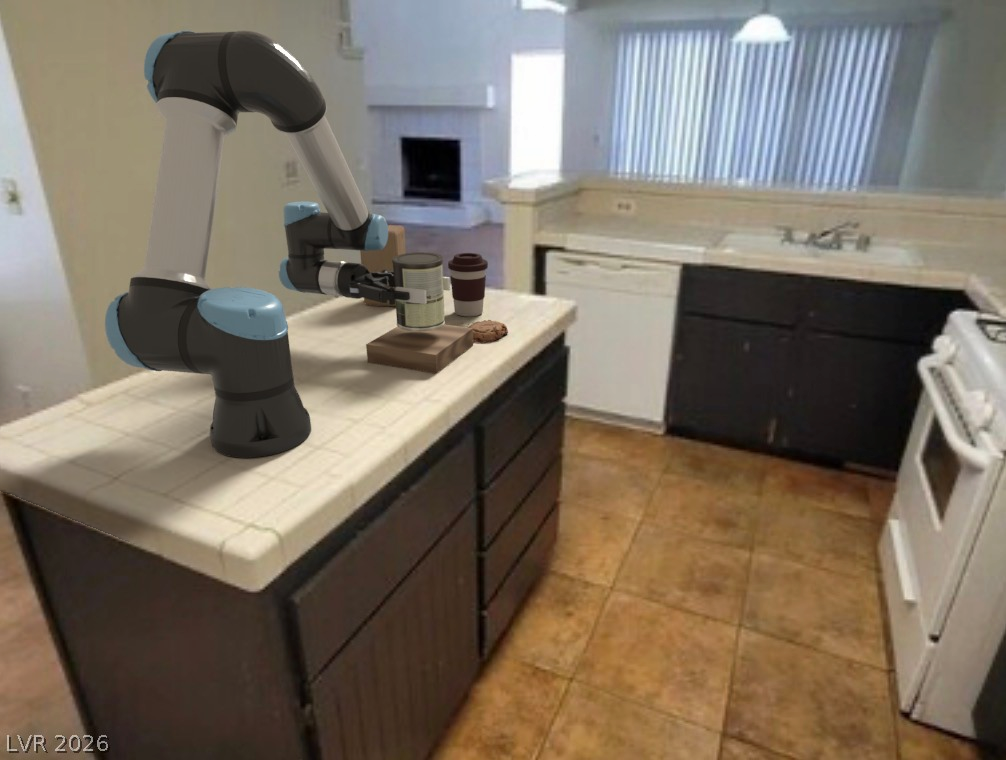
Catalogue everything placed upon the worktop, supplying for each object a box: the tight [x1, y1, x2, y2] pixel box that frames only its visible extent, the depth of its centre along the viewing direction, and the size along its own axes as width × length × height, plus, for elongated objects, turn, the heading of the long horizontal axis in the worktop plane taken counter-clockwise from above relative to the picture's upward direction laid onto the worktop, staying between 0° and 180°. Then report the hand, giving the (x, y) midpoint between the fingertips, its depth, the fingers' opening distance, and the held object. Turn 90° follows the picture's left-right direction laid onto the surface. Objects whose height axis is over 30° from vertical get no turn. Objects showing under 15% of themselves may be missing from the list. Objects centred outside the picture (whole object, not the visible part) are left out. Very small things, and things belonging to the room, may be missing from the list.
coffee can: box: [392, 251, 446, 331], centre depth 133 cm, size 10×10×14 cm
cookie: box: [467, 319, 509, 343], centre depth 150 cm, size 10×11×3 cm
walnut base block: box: [365, 323, 474, 374], centre depth 138 cm, size 18×16×4 cm
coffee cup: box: [447, 252, 489, 318], centre depth 163 cm, size 10×10×15 cm
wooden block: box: [359, 224, 407, 307], centre depth 171 cm, size 10×10×20 cm
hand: (437, 290), depth 131 cm, fingers closed on coffee can, 10 cm apart
